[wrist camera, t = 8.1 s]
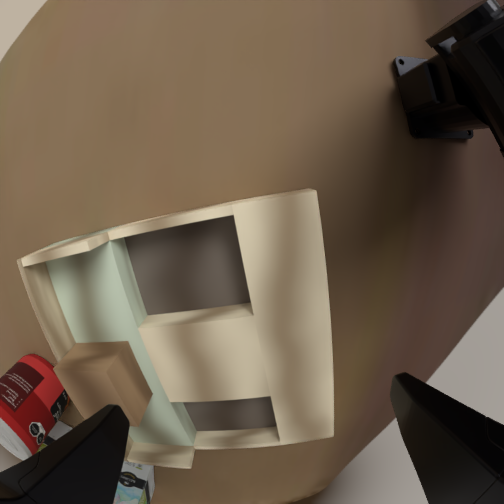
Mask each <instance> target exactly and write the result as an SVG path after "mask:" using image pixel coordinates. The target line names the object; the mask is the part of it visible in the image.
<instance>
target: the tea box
mask: <svg viewBox="0 0 504 504" xmlns="http://www.w3.org/2000/svg"><path fill="white" fill-rule="evenodd" d="M72 429H73V428H72V427H70V426H68V425H67V424H65V423H63V422H61V421H58V422H57V423H56V425H55V426H54V427H53V428H52V430H51V431H50V432H49V434H48V435H47V437H46V438H45V440H44V442H43V443H42V445H41V446H40V448H39V449H38V451H41V449H43V448H45V447H46V446H48V445H49V444H51V443H52V442H54V441H55V440H57V439H58V438H60V437H61V436H63V435H64V434H66V433H67V432H69V431H70V430H72ZM38 451H37V452H38ZM37 452H36V453H37ZM154 488H155V483H154V466H153V465H146V464H139V463H132V462H126V461H124V463H123V467H122V471H121V474H120V478H119V482H118V486H117V490H116V494H115V498H114V503H113V504H150V501H151V498H152V495H153V492H154Z"/></svg>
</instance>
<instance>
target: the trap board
mask: <svg viewBox="0 0 504 504" xmlns="http://www.w3.org/2000/svg"><path fill="white" fill-rule="evenodd" d="M17 263H18V266H19V270H20V273H21V276H22V279H23V282H24V285H25V288H26V291H27V293H28V296H29V299H30V301H31V304H32V307H33V309H34V312H35V314H36V317H37V319H38V321H39V324H40V326H41V328H42V331H43V333H44V335H45V337H46V339H47V341H48V343H49V346H50V348H51V350H52V352H53V354H54V356H55V358H56V360H57V361H58V363H59V362H60V360H61V359H62V358H63V357H64V356H65V355H66V354H67V353H68V352H69V351H70V350H71V349H72V348H73V346H74V345H75V344H76V343H89V342H116V341H128V342H129V344H130V346H131V349H132V351H133V353H134V356H135V358H136V360H137V362H138V364H139V366H140V369H141V371H142V373H143V375H144V377H145V379H146V381H147V383H148V385H149V387H150V389H151V391H152V393H153V395H152V397H151V399H150V402H149V404H148V406H147V409H146V411H145V413H144V415H143V418H142V420H141V422H140V425H139V427H133V426H130V428H129V434H128V440H127V446H126V452H125V458H124V461H126V462H132V463H139V464H146V465H153V466H162V467H173V468H188V469H191V467H192V462H193V458H194V453H195V449H240V448H255V447H267V446H277V445H285V444H293V443H299V442H306V441H312V440H318V439H323V438H328V437H333V436H334V385H333V354H332V334H331V319H330V305H329V292H328V281H327V271H326V261H325V252H324V243H323V235H322V227H321V219H320V212H319V205H318V198H317V191H316V190H313V189H303V190H296V191H290V192H284V193H277V194H271V195H265V196H260V197H254V198H248V199H243V200H237V201H232V202H227V203H221V204H216V205H211V206H206V207H201V208H196V209H191V210H186V211H182V212H177V213H172V214H168V215H163V216H159V217H154V218H150V219H146V220H141V221H137V222H133V223H129V224H125V225H121V226H117V227H113V228H109V229H105V230H101V231H97V232H93V233H89V234H86V235H82V236H78V237H74V238H71V239H67V240H64V241H60V242H57V243H54V244H51V245H49V246H47V247H44V248H42V249H40V250H38V251H35V252H33V253H31V254H29V255H27V256H24V257H22V258H20V259H18V260H17Z"/></svg>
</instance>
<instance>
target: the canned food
mask: <svg viewBox="0 0 504 504" xmlns="http://www.w3.org/2000/svg"><path fill="white" fill-rule="evenodd" d="M53 368H54V367H53V366H52V365H51V364H50V363H49V362H48V361H46V360H45V359H44V358H42V357H40V356H38V355H35V354H29V355H26V356H23V357H22V358H21V359H20V360H19V361H18V362H17V363H16V364H15V365H14V366H13V367H12V368H11V369H10V370H9V371H7V372H6V373H5V374H4V375H3V376H2V377H1V378H0V444H2V445H3V446H4V447H5V448H6V449H7V450H8V451H10V452H11V453H12V454H13V455H15V456H16V457H18V458H20V459H21V460H23V461H24V460H26V459H27V458H29V457H31V456H32V455H34V454H35V453H36V452H37V451H38V449H39V448H40V446H41V445H42V443H43V442H44V440H45V438H46V437H47V435H48V434H49V432H50V431H51V429H52V428H53V426H54V425H55V423H56V422H57V421H58V419H59V418H60V416H61V415H62V413H63V412H64V410H65V409H66V407H67V406H68V405H69V401H70V397H69V395H68V394H67V392H66V390H65V389H64V387H63V385H62V384H61V382H60V380H59V379H58V377H57V375H56V373H55V372H54V370H53Z"/></svg>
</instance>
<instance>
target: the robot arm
mask: <svg viewBox="0 0 504 504" xmlns="http://www.w3.org/2000/svg"><path fill="white" fill-rule="evenodd" d="M425 41H426V42H427V43H428V44H429V45H430V47H431V48H432V47H433V48H434V49H435V50H436V51H437V53H438V54H437V55H435V56H433V57H432V58H430V59H420V58H412V57H403V56H398V57H396V58H395V59H394V61H393V62H394V66H395V69H396V73H397V77H398V79H397V81H398V85H399V89H400V93H401V97H402V101H403V106H404V110H405V111H406V113H407V118H408V123H409V128H410V133H411V135H412V137H414V138H416V139H425V138H454V139H471V138H472V137H473V130H474V129H484V128H490V130H491V131H492V133H493V135H494V137H495V139H496V141H497V143H498V145H499V147H500V148H501V149H500V151H501V153H502V155H503V157H504V5H503V6H501V7H500V6H499V4H498V3H497V2H496V1H495V0H483V1H481V2H479V3H477V4H475V5H473V6H472V7H470V8H469V9H467V10H466V11H464V12H463V13H461V14H460V15H458V16H457V17H455V18H454V19H452V20H451V21H450V22H449V23H447V24H446V25H445V26H443V27H442V28H441V29H439V30H438V31H437V32H436V33H434V34H433V35H432V36H431V37H429V38H428V39H427V40H425ZM398 61H400V62H401V63H402V65H401V64H400V63H399V62H398ZM416 129H417V130H418V135H417V134H416V132H415V130H416ZM467 131H468V133H467ZM390 398H391V402H392V405H393V408H394V412H395V415H396V418H397V421H398V425H399V428H400V432H401V435H402V438H403V441H404V443H405V446H406V448H407V450H408V453H409V455H410V457H411V460H412V462H413V465H414V467H415V470H416V472H417V475H418V477H419V480H420V482H421V485H422V487H423V490H424V492H425V495H426V498H427V500H428V503H429V504H504V425H503V424H501V423H499V422H497V421H495V420H493V419H491V418H489V417H486V416H485V415H483V414H481V413H479V412H477V411H475V410H474V409H472V408H470V407H467V406H466V405H464V404H462V403H461V402H459V401H457V400H455V399H453V398H451V397H449V396H448V395H446V394H444V393H442V392H440V391H439V390H437V389H435V388H433V387H431V386H429V385H428V384H426V383H424V382H422V381H421V380H419V379H417V378H415V377H414V376H412V375H410V374H408V373H406V372H403V373H400V374H397V375H394V376H393V379H392V385H391V392H390ZM129 428H130V422H129V419H128V418H127V416H126V415H125V413H124V411H123V410H122V408H121V407H120V406H119V405H117V404H108V405H106V406H105V407H103V408H102V409H100V410H99V411H98V412H96V413H95V414H93V415H92V416H90V417H89V418H88V419H86V420H85V421H83V422H82V423H80V424H79V425H77V426H76V427H74V428H73V429H72V430H70V431H69V432H67V433H66V434H64V435H63V436H61V437H60V438H58V439H57V440H55V441H54V442H52V443H51V444H49V445H48V446H46V447H45V448H43V449H41V451H38V452H37V453H35V454H34V455H32V456H31V457H29V458H27V459H26V460H24V461H22V462H20V463H18V464H17V465H14V466H12V467H10V468H8V469H6V470H4V471H2V472H0V504H113V503H114V498H115V494H116V490H117V486H118V482H119V478H120V474H121V471H122V467H123V463H124V458H125V452H126V446H127V440H128V434H129Z"/></svg>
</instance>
